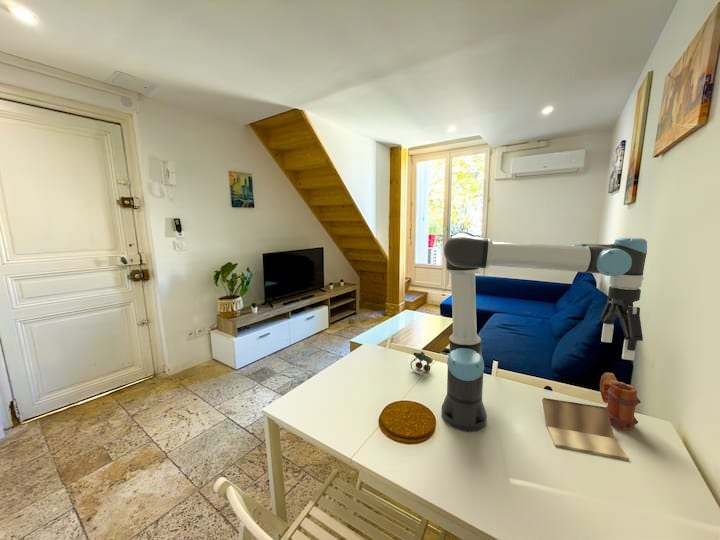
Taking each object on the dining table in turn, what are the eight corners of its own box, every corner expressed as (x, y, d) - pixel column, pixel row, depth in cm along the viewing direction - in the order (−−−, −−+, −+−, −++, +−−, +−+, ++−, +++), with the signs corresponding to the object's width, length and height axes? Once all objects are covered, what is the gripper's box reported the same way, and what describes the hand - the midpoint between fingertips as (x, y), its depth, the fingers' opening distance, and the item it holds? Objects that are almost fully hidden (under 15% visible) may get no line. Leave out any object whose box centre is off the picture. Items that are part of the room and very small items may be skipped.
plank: (546, 427, 96) (547, 426, 95) (542, 399, 102) (543, 397, 101) (612, 439, 91) (614, 438, 89) (604, 408, 96) (606, 407, 95)
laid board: (554, 448, 88) (554, 443, 88) (546, 430, 96) (547, 425, 95) (628, 463, 82) (628, 458, 82) (613, 442, 90) (614, 437, 90)
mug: (643, 436, 92) (649, 393, 89) (613, 433, 94) (619, 390, 91) (613, 408, 106) (618, 369, 104) (587, 405, 108) (592, 368, 105)
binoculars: (430, 378, 133) (436, 357, 135) (422, 375, 126) (428, 352, 129) (412, 372, 139) (418, 351, 142) (404, 368, 132) (410, 347, 135)
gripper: (666, 297, 79) (655, 369, 82) (618, 279, 102) (611, 336, 106) (632, 295, 81) (622, 366, 85) (593, 278, 105) (586, 334, 108)
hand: (616, 350), depth 95 cm, fingers open, 13 cm apart
